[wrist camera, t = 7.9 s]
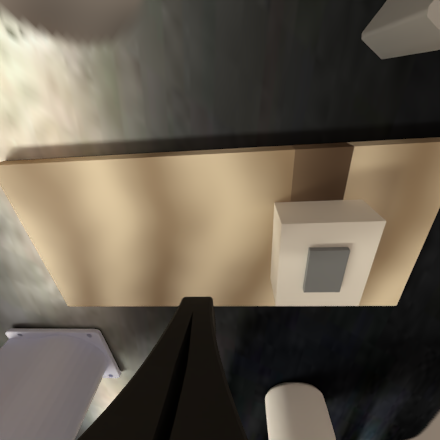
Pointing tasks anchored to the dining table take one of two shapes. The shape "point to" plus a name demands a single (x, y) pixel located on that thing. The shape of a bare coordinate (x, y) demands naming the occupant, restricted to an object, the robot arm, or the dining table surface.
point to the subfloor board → (213, 217)
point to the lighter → (404, 28)
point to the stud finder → (323, 251)
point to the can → (297, 413)
